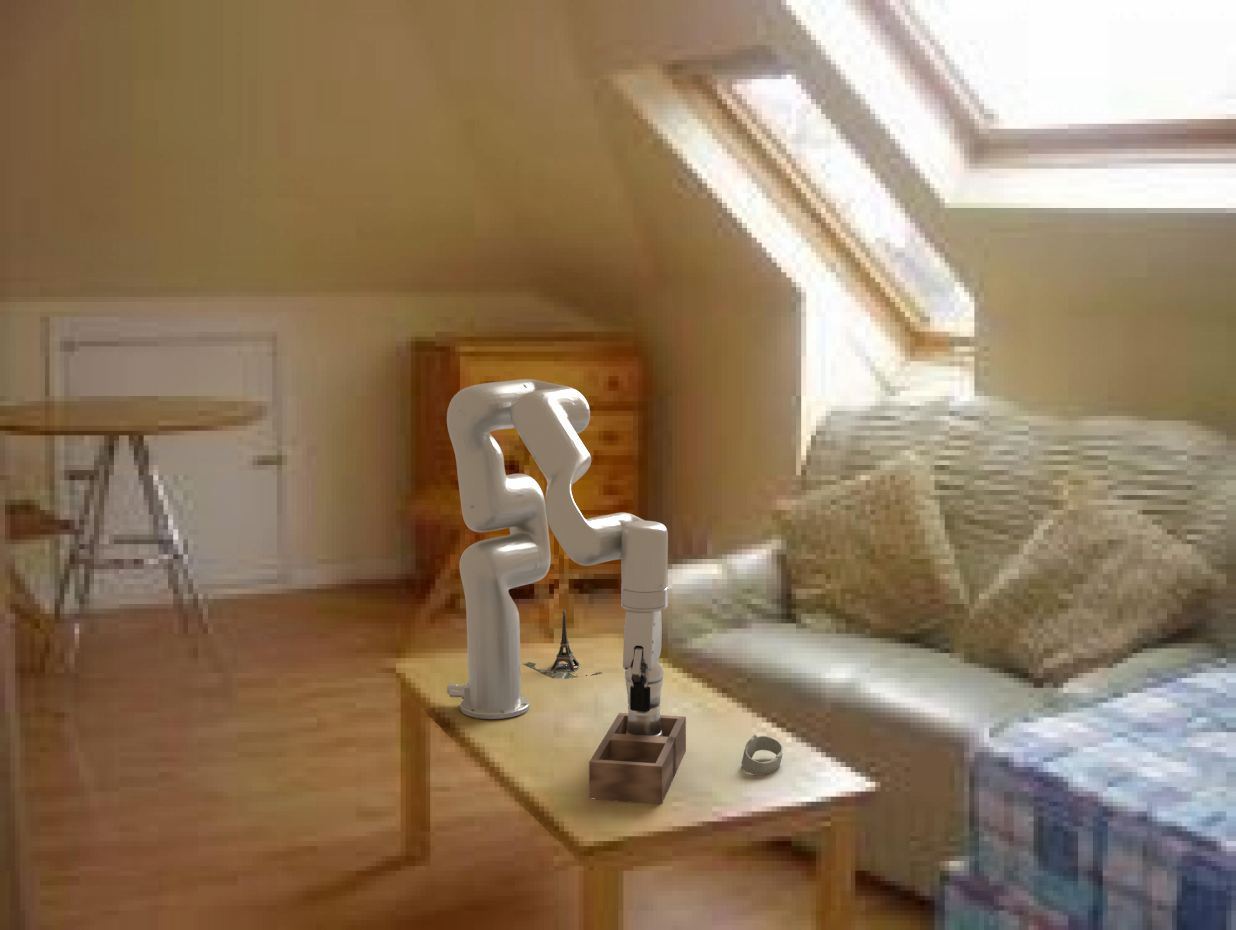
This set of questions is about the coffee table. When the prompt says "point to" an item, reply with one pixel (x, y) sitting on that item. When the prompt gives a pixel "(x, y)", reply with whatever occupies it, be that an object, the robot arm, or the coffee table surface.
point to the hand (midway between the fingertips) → (644, 702)
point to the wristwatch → (757, 745)
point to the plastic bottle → (650, 720)
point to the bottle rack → (637, 762)
